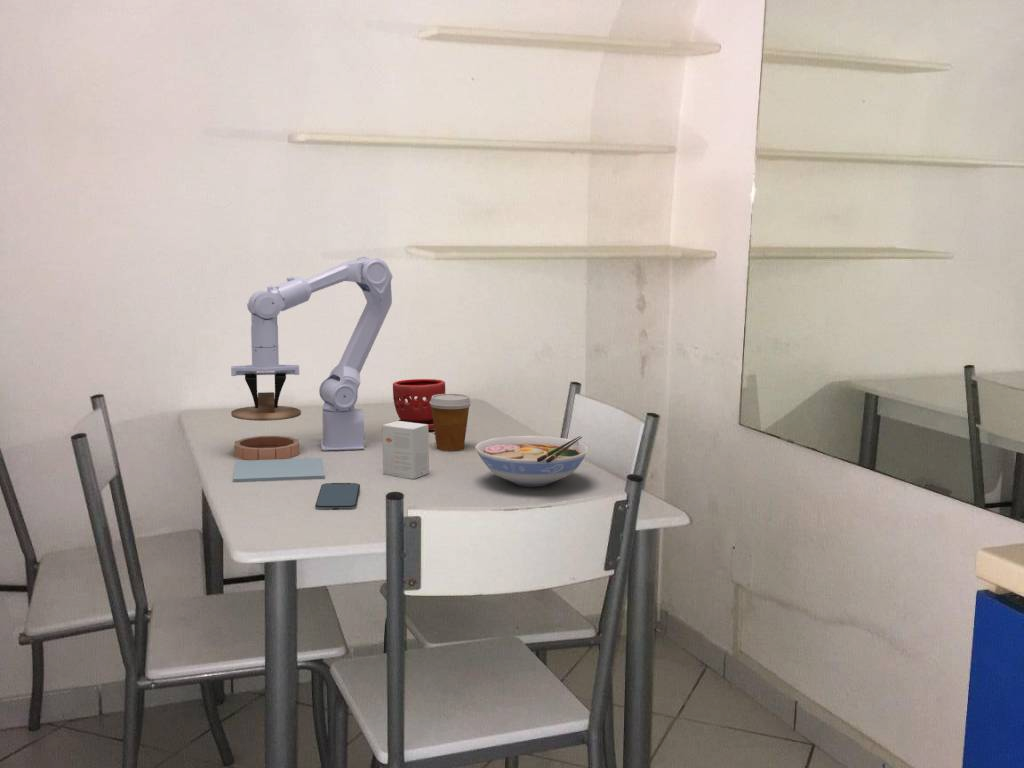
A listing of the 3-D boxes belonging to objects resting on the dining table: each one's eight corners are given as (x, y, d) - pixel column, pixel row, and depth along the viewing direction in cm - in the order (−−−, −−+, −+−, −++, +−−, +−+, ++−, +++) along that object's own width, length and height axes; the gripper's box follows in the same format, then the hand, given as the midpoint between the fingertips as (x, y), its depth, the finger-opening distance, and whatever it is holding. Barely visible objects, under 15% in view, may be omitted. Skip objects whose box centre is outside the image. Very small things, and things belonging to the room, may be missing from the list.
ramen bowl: (501, 464, 230) (502, 426, 228) (603, 474, 221) (604, 436, 220) (453, 491, 207) (454, 450, 205) (565, 504, 198) (566, 461, 197)
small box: (429, 474, 220) (429, 424, 218) (413, 479, 215) (413, 428, 213) (398, 469, 224) (398, 420, 222) (382, 474, 219) (381, 424, 217)
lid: (300, 407, 244) (300, 387, 243) (301, 419, 229) (301, 398, 229) (232, 408, 241) (232, 388, 240) (229, 421, 226) (229, 399, 225)
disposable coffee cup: (428, 452, 239) (428, 400, 238) (430, 443, 249) (430, 393, 247) (470, 452, 240) (471, 400, 238) (471, 444, 249) (471, 393, 247)
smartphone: (314, 505, 192) (321, 482, 207) (314, 514, 192) (321, 490, 207) (356, 505, 193) (360, 482, 207) (356, 514, 193) (360, 490, 208)
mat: (321, 460, 230) (321, 457, 230) (325, 478, 215) (324, 475, 215) (235, 463, 226) (235, 460, 226) (233, 482, 211) (232, 479, 211)
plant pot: (447, 423, 273) (447, 377, 271) (442, 434, 260) (443, 385, 258) (396, 422, 273) (396, 376, 271) (389, 433, 260) (389, 384, 258)
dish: (298, 445, 245) (298, 434, 244) (300, 459, 231) (299, 448, 231) (235, 447, 242) (235, 436, 241) (233, 461, 228) (233, 450, 228)
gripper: (298, 343, 238) (299, 403, 240) (231, 344, 235) (233, 405, 237) (299, 347, 231) (300, 409, 233) (230, 348, 228) (231, 410, 230)
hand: (266, 407), depth 235 cm, fingers closed on lid, 3 cm apart
